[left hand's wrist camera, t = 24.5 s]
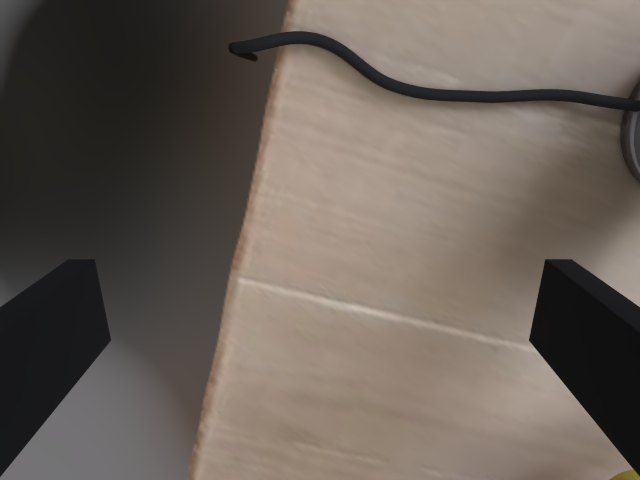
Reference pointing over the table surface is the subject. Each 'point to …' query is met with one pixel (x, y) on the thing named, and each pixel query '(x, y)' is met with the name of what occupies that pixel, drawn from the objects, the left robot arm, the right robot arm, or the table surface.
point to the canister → (627, 476)
